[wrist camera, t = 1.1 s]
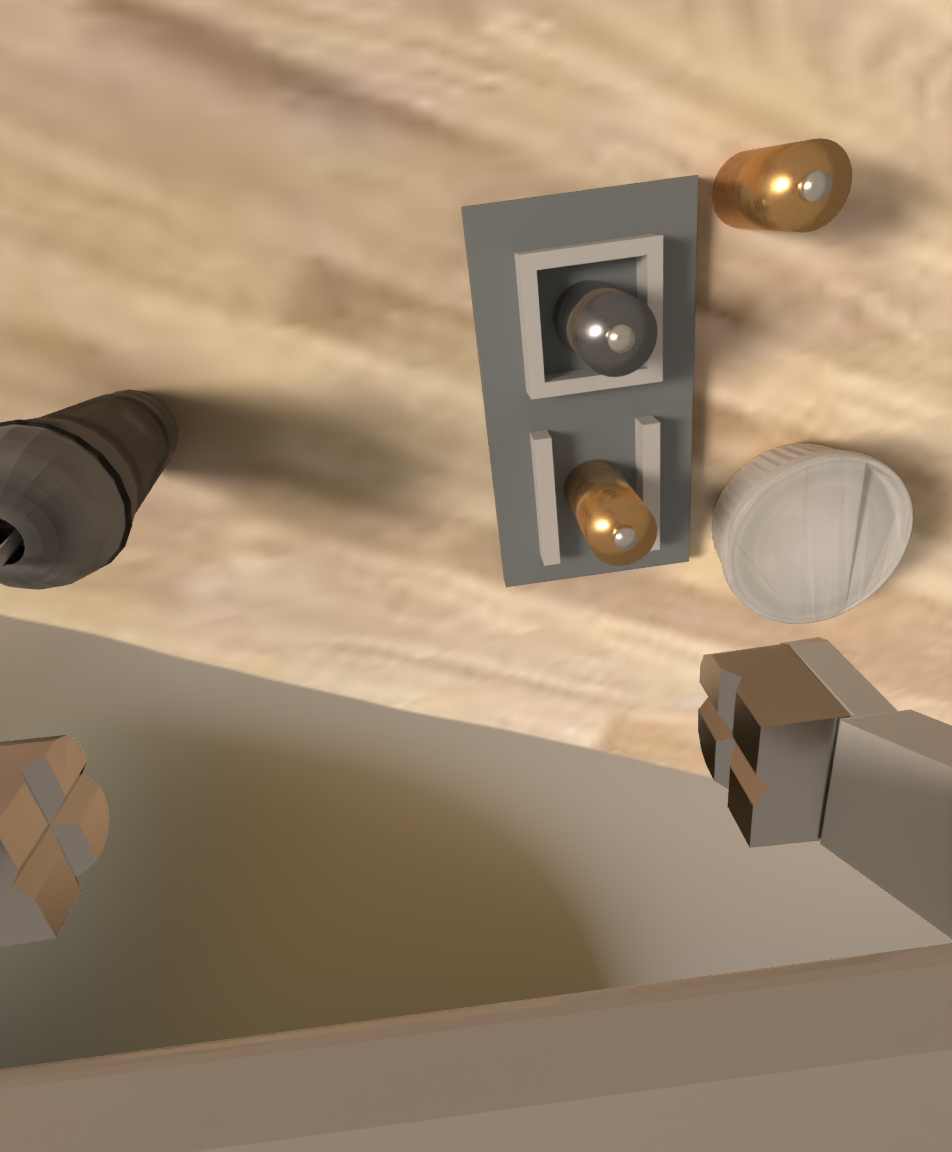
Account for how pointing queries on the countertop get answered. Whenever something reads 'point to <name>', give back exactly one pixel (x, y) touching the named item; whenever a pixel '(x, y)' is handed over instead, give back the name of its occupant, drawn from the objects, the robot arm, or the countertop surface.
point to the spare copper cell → (610, 513)
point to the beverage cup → (77, 485)
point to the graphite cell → (605, 327)
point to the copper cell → (783, 186)
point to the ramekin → (810, 531)
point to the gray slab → (583, 366)
